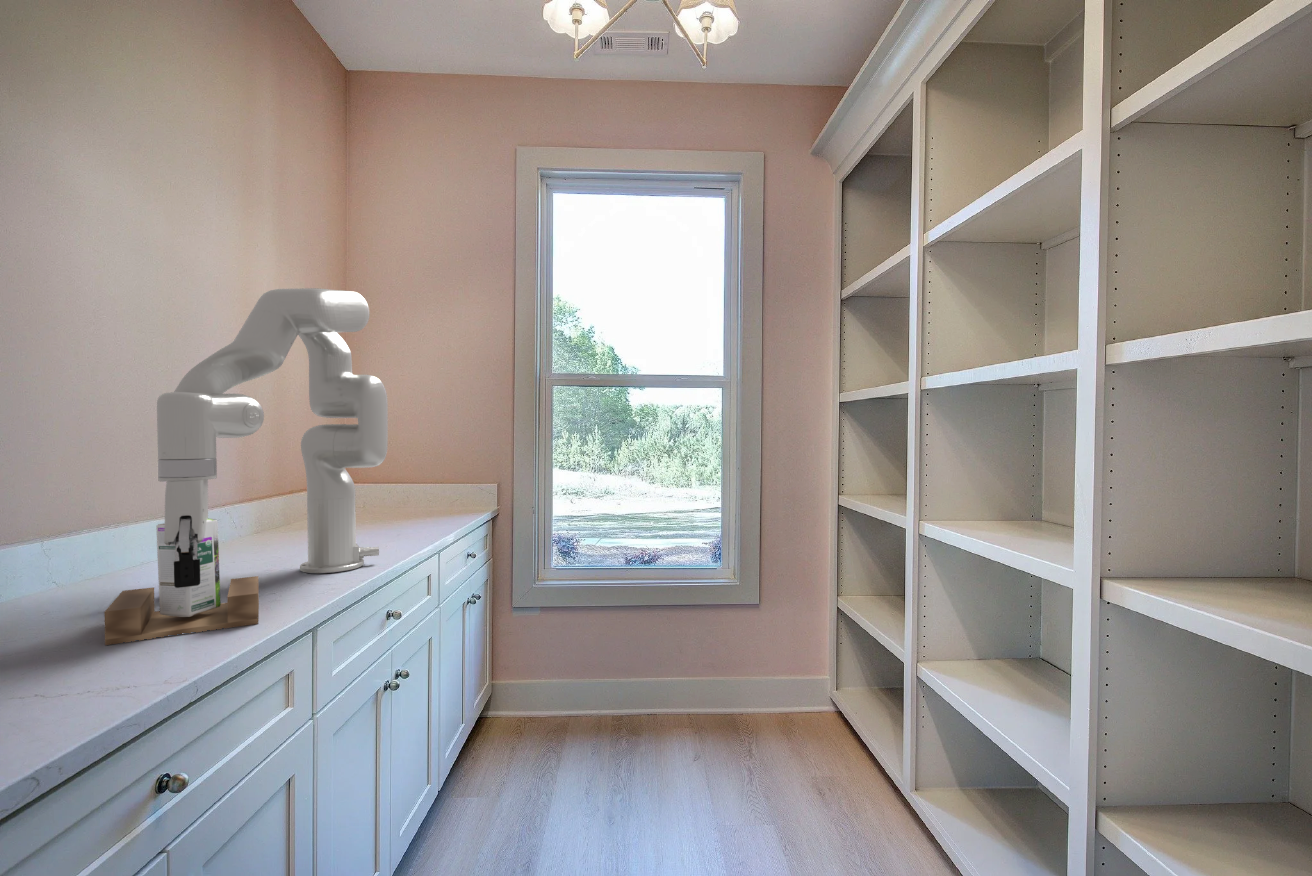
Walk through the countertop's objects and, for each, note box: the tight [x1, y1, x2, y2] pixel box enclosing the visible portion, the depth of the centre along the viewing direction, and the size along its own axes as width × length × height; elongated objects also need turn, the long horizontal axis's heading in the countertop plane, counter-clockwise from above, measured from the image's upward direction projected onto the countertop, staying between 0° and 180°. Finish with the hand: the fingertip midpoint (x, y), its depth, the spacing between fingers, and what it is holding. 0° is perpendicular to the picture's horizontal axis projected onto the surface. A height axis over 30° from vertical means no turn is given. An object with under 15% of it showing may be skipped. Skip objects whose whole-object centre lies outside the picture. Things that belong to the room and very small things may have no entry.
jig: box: [103, 575, 260, 646], centre depth 101 cm, size 18×14×5 cm
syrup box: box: [155, 517, 222, 617], centre depth 101 cm, size 6×6×14 cm
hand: (190, 580), depth 101 cm, fingers closed on syrup box, 7 cm apart
